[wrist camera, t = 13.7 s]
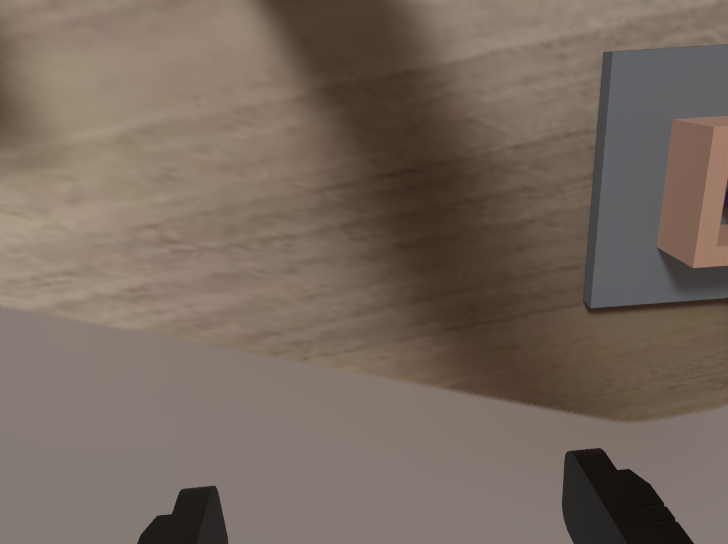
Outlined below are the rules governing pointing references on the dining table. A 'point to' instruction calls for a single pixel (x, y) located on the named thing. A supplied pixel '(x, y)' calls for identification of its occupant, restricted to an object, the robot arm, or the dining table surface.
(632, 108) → the socket block
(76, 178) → the dining table surface
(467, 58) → the dining table surface
